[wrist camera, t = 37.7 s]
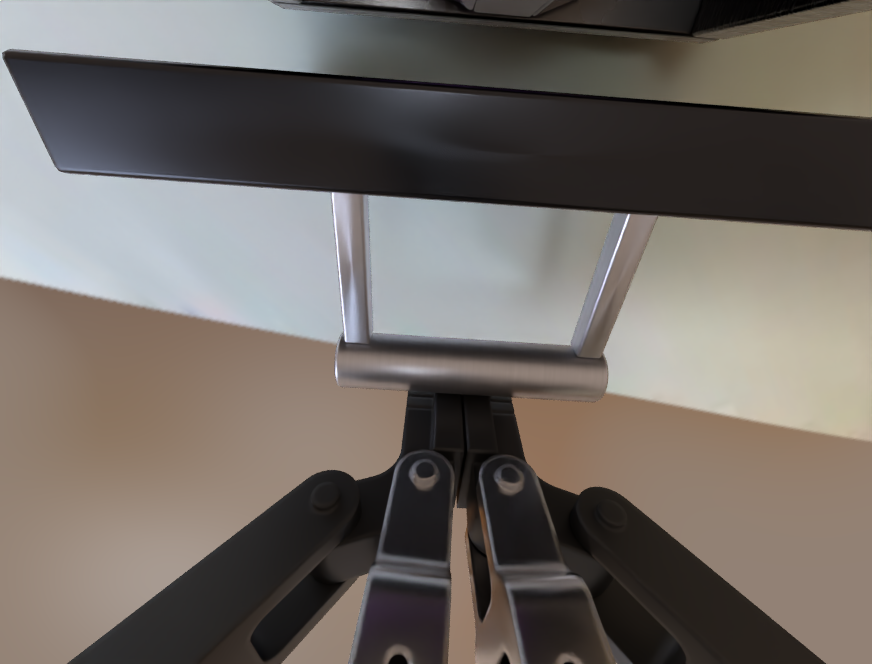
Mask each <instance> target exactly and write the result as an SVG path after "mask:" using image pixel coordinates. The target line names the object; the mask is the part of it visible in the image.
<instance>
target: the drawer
mask: <svg viewBox="0 0 872 664" xmlns="http://www.w3.org/2000/svg"><path fill="white" fill-rule="evenodd" d="M269 1H271V2H272V3H274V4H276V5H278V6H280V7H282V8H284V9H293V10H305V11H317V12H329V13H341V14H353V15H365V16H377V17H389V18H401V19H413V20H425V21H438V22H450V23H462V24H474V25H486V26H498V27H510V28H522V29H534V30H546V31H558V32H570V33H582V34H594V35H606V36H618V37H630V38H642V39H654V40H666V41H678V42H690V43H705V42H711V41H716V40H719V39H727V38H732V37H737V36H742V35H747V34H752V33H757V32H763V31H768V30H773V29H778V28H783V27H788V26H793V25H798V24H803V23H808V22H814V21H819V20H824V19H829V18H834V17H839V16H844V15H849V14H854V13H860V12H865V11H870V10H872V0H572V1H570V2H568V3H565V4H563V5H560V6H558V7H556V8H553V9H551V10H549V11H546V12H544V13H541V14H539V15H537V16H533V15H532V16H530V17H524V16H513V15H502V14H491V13H480V12H475V11H474V10H473V9H472V10H469V9H467V8H466V7H464V6H463V5H461V4H460V3H459V2H457V1H456V0H269ZM2 55H3V60H4V62H5V64H6V66H7V68H8V70H9V72H10V74H11V76H12V79H13V81H14V83H15V85H16V87H17V89H18V91H19V93H20V95H21V97H22V99H23V101H24V103H25V105H26V107H27V110H28V112H29V114H30V116H31V118H32V120H33V122H34V124H35V126H36V128H37V130H38V132H39V134H40V136H41V139H42V141H43V143H44V145H45V147H46V149H47V151H48V153H49V155H50V157H51V159H52V161H53V163H54V165H55V167H56V168H57V169H58V170H59V171H61V172H64V173H68V174H82V175H95V176H109V177H123V178H137V179H151V180H164V181H178V182H192V183H206V184H220V185H234V186H247V187H261V188H275V189H289V190H303V191H316V192H330V193H331V201H332V211H333V222H334V233H335V244H336V254H337V265H338V276H339V286H340V297H341V308H342V319H343V329H344V332H343V333H342V334H341V335H340V338H339V340H338V343H337V347H336V353H335V365H334V369H335V378H336V382H337V385H338V386H340V387H350V388H366V389H383V390H399V391H415V392H432V393H448V394H465V395H481V396H497V397H514V398H531V399H547V400H548V399H549V400H563V401H580V402H596V401H598V400H600V399H601V398H602V397H603V395H604V393H605V391H606V388H607V383H608V366H607V361H606V358H605V356H604V354H603V351H604V348H605V346H606V343H607V341H608V338H609V336H610V333H611V331H612V329H613V326H614V324H615V321H616V319H617V316H618V314H619V311H620V309H621V306H622V304H623V301H624V299H625V297H626V294H627V292H628V289H629V287H630V284H631V282H632V279H633V277H634V274H635V272H636V269H637V267H638V264H639V262H640V260H641V257H642V255H643V252H644V250H645V247H646V245H647V242H648V240H649V237H650V235H651V232H652V230H653V227H654V225H655V223H656V220H657V218H658V216H662V217H676V218H689V219H703V220H717V221H731V222H745V223H758V224H772V225H786V226H800V227H814V228H828V229H841V230H855V231H869V232H872V117H860V116H847V115H834V114H822V113H809V112H797V111H784V110H771V109H759V108H746V107H734V106H721V105H708V104H696V103H683V102H671V101H658V100H645V99H633V98H620V97H608V96H595V95H583V94H570V93H557V92H545V91H532V90H520V89H507V88H494V87H482V86H469V85H457V84H444V83H431V82H419V81H406V80H394V79H381V78H368V77H356V76H343V75H331V74H318V73H305V72H293V71H280V70H268V69H255V68H242V67H230V66H217V65H205V64H192V63H180V62H167V61H154V60H142V59H129V58H117V57H104V56H91V55H79V54H66V53H54V52H41V51H28V50H16V49H9V50H7V51H5V52H3V53H2ZM368 195H372V196H385V197H399V198H413V199H427V200H441V201H455V202H468V203H482V204H496V205H510V206H524V207H537V208H551V209H565V210H579V211H593V212H606V213H614V215H613V218H612V221H611V224H610V227H609V230H608V233H607V236H606V239H605V242H604V245H603V248H602V251H601V254H600V257H599V260H598V263H597V266H596V269H595V272H594V275H593V278H592V281H591V284H590V287H589V290H588V293H587V295H586V298H585V301H584V304H583V307H582V310H581V313H580V316H579V319H578V322H577V325H576V328H575V331H574V334H573V337H572V340H571V346H567V345H552V344H536V343H521V342H505V341H490V340H474V339H458V338H443V337H427V336H412V335H396V334H381V333H373V307H372V281H371V255H370V228H369V202H368Z"/></svg>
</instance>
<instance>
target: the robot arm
mask: <svg viewBox="0 0 872 664" xmlns="http://www.w3.org/2000/svg"><path fill="white" fill-rule="evenodd" d="M456 496H457V508H466V509H467V528H466V533H465V543H466V552H467V560H468V568H469V577H470V585H471V593H472V601H473V609H474V618H475V633H476V636H475V661H476V664H616V663H617V664H826V663H824V662H823V661H822V660H821V659H820V658H819V657H817V656H816V655H815V654H814V653H812V652H811V651H810V650H809V649H808V648H806V647H805V646H804V645H803V644H802V643H800V642H799V641H798V640H797V639H795V638H794V637H793V636H792V635H791V634H789V633H788V632H787V631H786V630H785V629H783V628H782V627H781V626H780V625H779V624H777V623H776V622H775V621H774V620H772V619H771V618H770V617H769V616H767V615H766V614H765V613H764V612H763V611H762V610H760V609H759V608H758V607H757V606H756V605H754V604H753V603H752V602H751V601H749V600H748V599H747V598H746V597H745V596H743V595H742V594H741V593H739V591H737V590H736V589H735V588H734V587H732V586H731V585H730V584H729V583H728V582H726V581H725V580H724V579H723V578H722V577H720V576H719V575H718V574H717V573H715V572H714V571H713V570H712V569H711V568H709V567H708V566H707V565H706V564H705V563H703V562H702V561H701V560H700V559H699V558H697V557H696V556H695V555H694V554H692V553H691V552H690V551H689V550H688V549H686V548H685V547H684V546H683V545H681V544H680V543H679V542H678V541H677V540H675V539H674V538H673V537H671V535H669V534H668V533H667V532H666V531H665V530H663V529H662V528H661V527H660V526H659V525H657V524H656V523H655V522H654V521H652V520H651V519H650V518H649V517H648V516H646V515H645V514H644V513H643V512H642V511H640V510H639V509H638V508H637V507H635V506H634V505H633V504H632V503H631V502H629V501H628V500H627V499H625V498H624V497H623V496H621V495H620V494H618V493H617V492H615V491H612V490H610V489H607V488H602V487H590V488H588V489H585V490H584V491H582V492H581V494H580V495H576V494H574V493H571V492H568V491H565V490H562V489H560V488H557V487H554V486H552V485H550V484H548V483H546V482H544V481H543V480H542V479H540V478H539V477H538V476H537V475H536V473H535V472H534V470H533V469H532V468H531V466H529V465H528V464H527V462H526V460H525V457H524V452H523V448H522V444H521V439H520V435H519V430H518V426H517V422H516V417H515V414H514V408H513V404H512V400H511V397H497V396H481V395H465V394H448V393H432V392H415V391H408V397H407V407H406V415H405V423H404V432H403V440H402V449H401V454H400V456H399V458H398V459H397V461H396V463H395V464H394V465H393V466H392V467H391V468H389V469H388V470H387V471H385V472H383V473H381V474H379V475H376V476H373V477H369V478H365V479H361V480H357V481H355V480H354V479H353V477H351V476H350V475H349V474H347V473H345V472H342V471H337V470H327V471H322V472H320V473H316V474H314V475H312V476H311V477H309V478H308V479H306V480H305V481H304V482H303V483H301V484H300V485H299V486H297V487H296V488H295V489H293V490H292V491H291V492H289V493H288V494H287V495H286V496H284V497H283V498H282V499H280V500H279V501H278V502H276V503H275V504H274V505H273V506H271V507H270V508H269V509H267V510H266V511H265V512H264V513H262V514H261V515H260V516H258V517H257V518H256V519H254V520H253V521H252V522H250V523H249V524H248V525H247V526H245V527H244V528H243V529H241V530H240V531H239V532H237V533H236V534H235V535H234V536H232V537H231V538H230V539H229V540H227V541H226V542H224V543H223V544H222V545H221V546H219V547H218V548H217V549H215V550H214V551H213V552H212V553H210V554H209V555H208V556H206V557H205V558H204V559H202V560H201V561H200V562H199V563H197V564H196V565H195V566H193V567H192V568H191V569H190V570H188V571H187V572H185V573H184V574H183V575H182V576H180V577H179V578H178V579H176V580H175V581H174V582H172V583H171V584H170V585H169V586H167V587H166V588H165V589H163V590H162V591H161V592H159V593H158V594H157V595H156V596H154V597H153V598H152V599H151V600H149V601H148V602H147V603H145V604H144V605H143V606H141V607H140V608H139V609H137V610H136V611H135V612H134V613H132V614H131V615H130V616H128V617H127V618H126V619H124V620H123V621H122V622H121V623H119V624H118V625H117V626H115V627H114V628H113V629H112V630H110V631H109V632H108V633H106V634H105V635H104V636H102V637H101V638H100V639H98V640H97V641H96V642H95V643H93V644H92V645H91V646H89V647H88V648H87V649H85V650H84V651H83V652H82V653H80V654H79V655H78V656H76V657H75V658H74V659H72V660H71V661H70V662H69V663H68V664H281V663H282V662H283V661H284V660H285V659H286V658H287V656H288V655H289V654H290V653H291V652H292V651H293V649H295V647H296V646H297V645H298V644H299V643H300V642H301V641H302V640H303V639H304V637H305V636H306V635H307V634H308V633H309V632H310V631H311V630H312V629H313V628H314V626H315V625H316V624H317V623H318V622H319V621H320V620H321V619H322V618H323V616H324V615H325V614H326V613H327V612H328V611H329V610H330V609H331V608H332V607H333V605H334V604H335V603H336V602H337V601H338V600H339V599H340V598H341V596H342V595H343V594H344V593H345V592H346V591H347V590H348V589H349V588H350V587H351V585H352V584H353V583H354V582H355V581H356V580H357V578H358V577H359V576H362V575H364V574H367V573H369V574H368V578H367V582H366V586H365V590H364V595H363V600H362V604H361V608H360V613H359V617H358V622H357V626H356V631H355V635H354V640H353V644H352V649H351V653H350V658H349V662H348V664H448V647H449V627H450V606H451V605H450V603H451V573H450V556H451V536H452V518H453V508H454V505H455V500H456ZM615 661H616V662H615Z"/></svg>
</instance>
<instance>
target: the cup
mask: <svg viewBox="0 0 872 664" xmlns="http://www.w3.org/2000/svg"><path fill="white" fill-rule="evenodd" d="M456 1H457V2H459V3H460V4H461V5H463V6H464V7H466V8H467V9H469V10H472V9H473V10H474V11H475V12H480V13H491V14H502V15H513V16H524V17H530V16H532V15H533V16H537V15H539V14H541V13H544V12H546V11H549V10H551V9H553V8H556V7H558V6H560V5H563V4H565V3H568V2H570V1H572V0H456Z"/></svg>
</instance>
